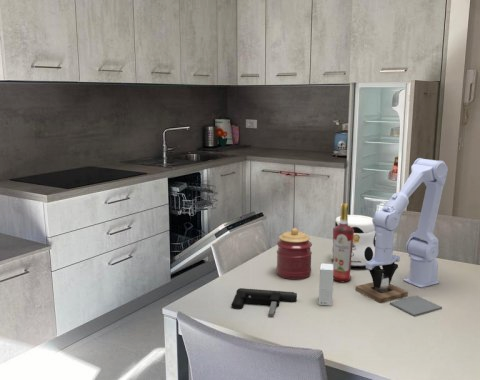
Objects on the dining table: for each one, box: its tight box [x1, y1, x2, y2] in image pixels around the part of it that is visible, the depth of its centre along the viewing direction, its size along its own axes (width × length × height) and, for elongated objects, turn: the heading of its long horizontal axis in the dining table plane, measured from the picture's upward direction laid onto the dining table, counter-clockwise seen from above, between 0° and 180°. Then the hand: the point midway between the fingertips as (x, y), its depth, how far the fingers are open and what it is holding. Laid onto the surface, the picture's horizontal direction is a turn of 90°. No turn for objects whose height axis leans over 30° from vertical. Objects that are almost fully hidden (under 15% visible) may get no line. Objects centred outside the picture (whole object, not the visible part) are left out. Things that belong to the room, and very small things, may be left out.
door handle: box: [230, 287, 298, 319], centre depth 153 cm, size 3×20×16 cm
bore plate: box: [355, 281, 409, 304], centre depth 163 cm, size 12×12×2 cm
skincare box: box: [318, 263, 334, 306], centre depth 155 cm, size 6×4×12 cm
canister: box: [276, 227, 313, 280], centre depth 179 cm, size 13×13×18 cm
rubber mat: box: [389, 295, 443, 317], centre depth 152 cm, size 12×10×1 cm
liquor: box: [332, 202, 354, 283], centre depth 172 cm, size 7×7×28 cm
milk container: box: [331, 214, 376, 268], centre depth 191 cm, size 17×17×18 cm
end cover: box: [375, 275, 389, 293], centre depth 162 cm, size 4×4×6 cm
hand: (381, 285), depth 162 cm, fingers closed on end cover, 4 cm apart
